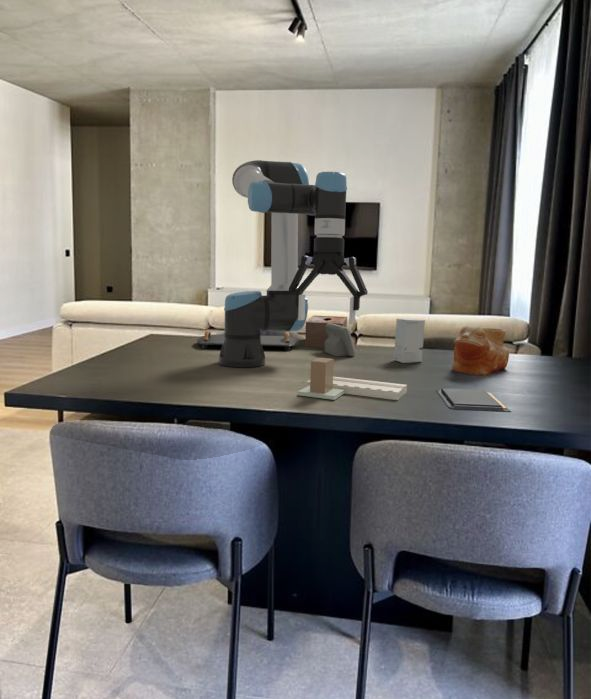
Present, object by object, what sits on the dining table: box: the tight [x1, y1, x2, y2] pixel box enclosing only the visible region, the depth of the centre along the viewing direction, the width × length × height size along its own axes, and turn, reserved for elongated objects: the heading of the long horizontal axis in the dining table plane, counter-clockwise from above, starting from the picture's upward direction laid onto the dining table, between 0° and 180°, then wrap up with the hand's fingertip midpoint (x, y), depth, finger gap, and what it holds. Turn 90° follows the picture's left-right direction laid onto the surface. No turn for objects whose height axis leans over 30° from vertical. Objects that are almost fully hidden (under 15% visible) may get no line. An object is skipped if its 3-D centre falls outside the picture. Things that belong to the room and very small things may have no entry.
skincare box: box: [393, 317, 426, 364], centre depth 203 cm, size 8×6×15 cm
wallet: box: [436, 388, 512, 413], centre depth 150 cm, size 20×2×15 cm
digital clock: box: [323, 323, 357, 357], centre depth 215 cm, size 16×9×11 cm, turn 12°
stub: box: [297, 357, 345, 401], centre depth 151 cm, size 10×8×9 cm
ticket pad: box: [305, 376, 408, 401], centre depth 158 cm, size 25×10×2 cm, turn 67°
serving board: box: [196, 329, 298, 352], centre depth 228 cm, size 39×23×6 cm, turn 92°
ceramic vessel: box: [451, 325, 510, 376], centre depth 191 cm, size 14×26×15 cm, turn 137°
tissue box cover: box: [304, 315, 348, 349], centre depth 240 cm, size 26×14×10 cm, turn 172°
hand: (326, 321), depth 149 cm, fingers open, 13 cm apart
